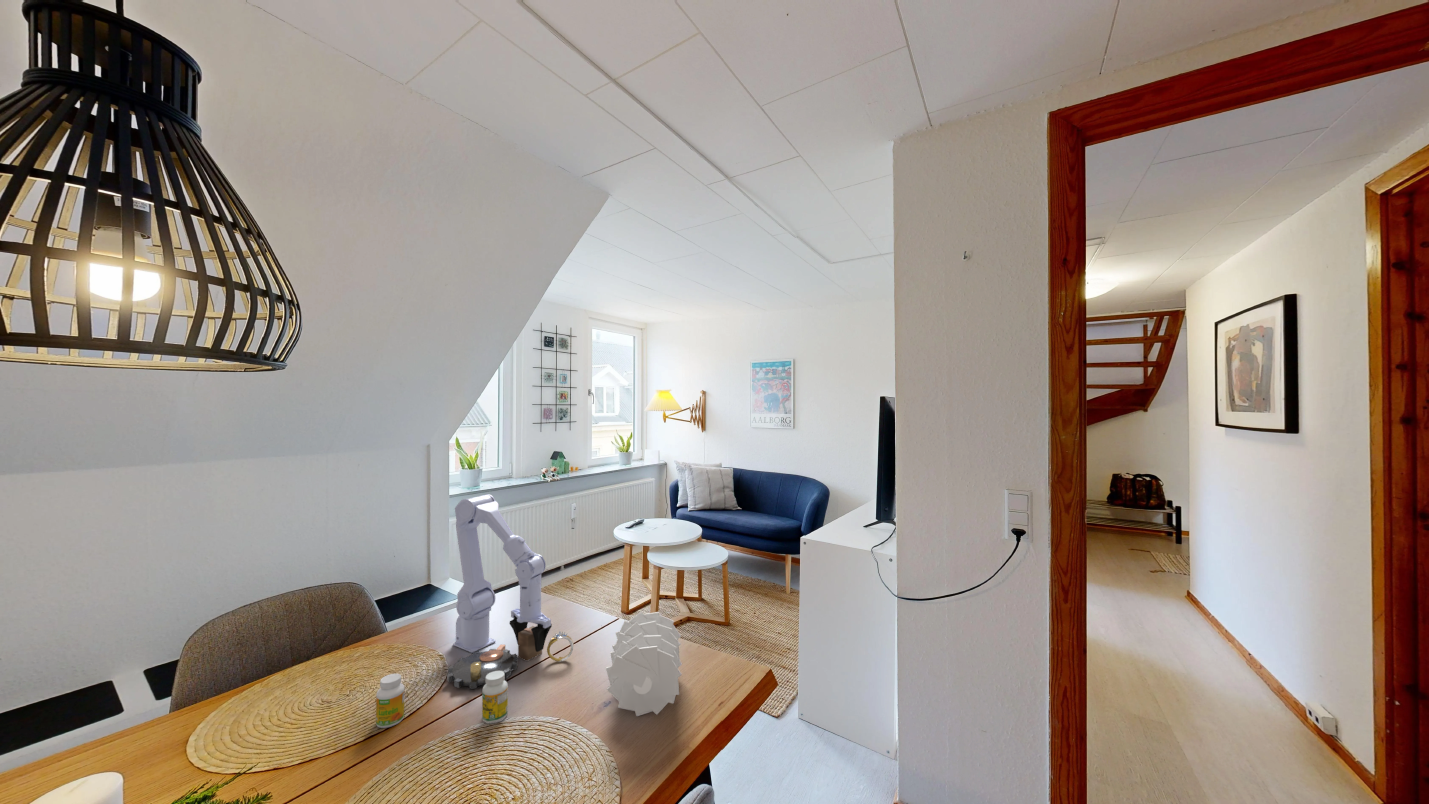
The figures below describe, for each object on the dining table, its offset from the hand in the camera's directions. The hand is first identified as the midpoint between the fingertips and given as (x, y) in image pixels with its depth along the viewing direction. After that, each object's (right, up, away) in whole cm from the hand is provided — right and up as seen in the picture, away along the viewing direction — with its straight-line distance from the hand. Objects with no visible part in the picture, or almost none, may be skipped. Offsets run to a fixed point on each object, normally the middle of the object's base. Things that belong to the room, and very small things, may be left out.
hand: (530, 646), depth 142 cm
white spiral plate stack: (+36, -3, -18) cm, 40 cm away
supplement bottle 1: (-21, -2, -30) cm, 36 cm away
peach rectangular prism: (-9, -2, +1) cm, 9 cm away
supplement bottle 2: (+2, -3, -28) cm, 28 cm away
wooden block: (0, -2, 0) cm, 2 cm away
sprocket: (-9, -2, -10) cm, 13 cm away
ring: (+10, -3, -3) cm, 10 cm away
